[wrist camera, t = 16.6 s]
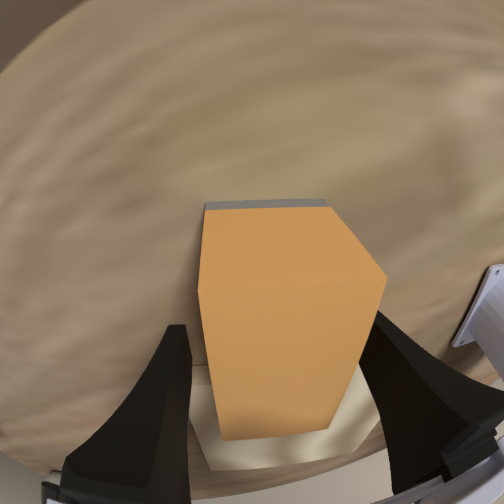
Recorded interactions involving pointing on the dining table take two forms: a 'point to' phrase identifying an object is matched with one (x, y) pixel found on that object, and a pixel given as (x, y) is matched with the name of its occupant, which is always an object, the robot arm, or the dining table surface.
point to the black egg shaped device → (54, 490)
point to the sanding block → (282, 313)
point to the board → (284, 447)
